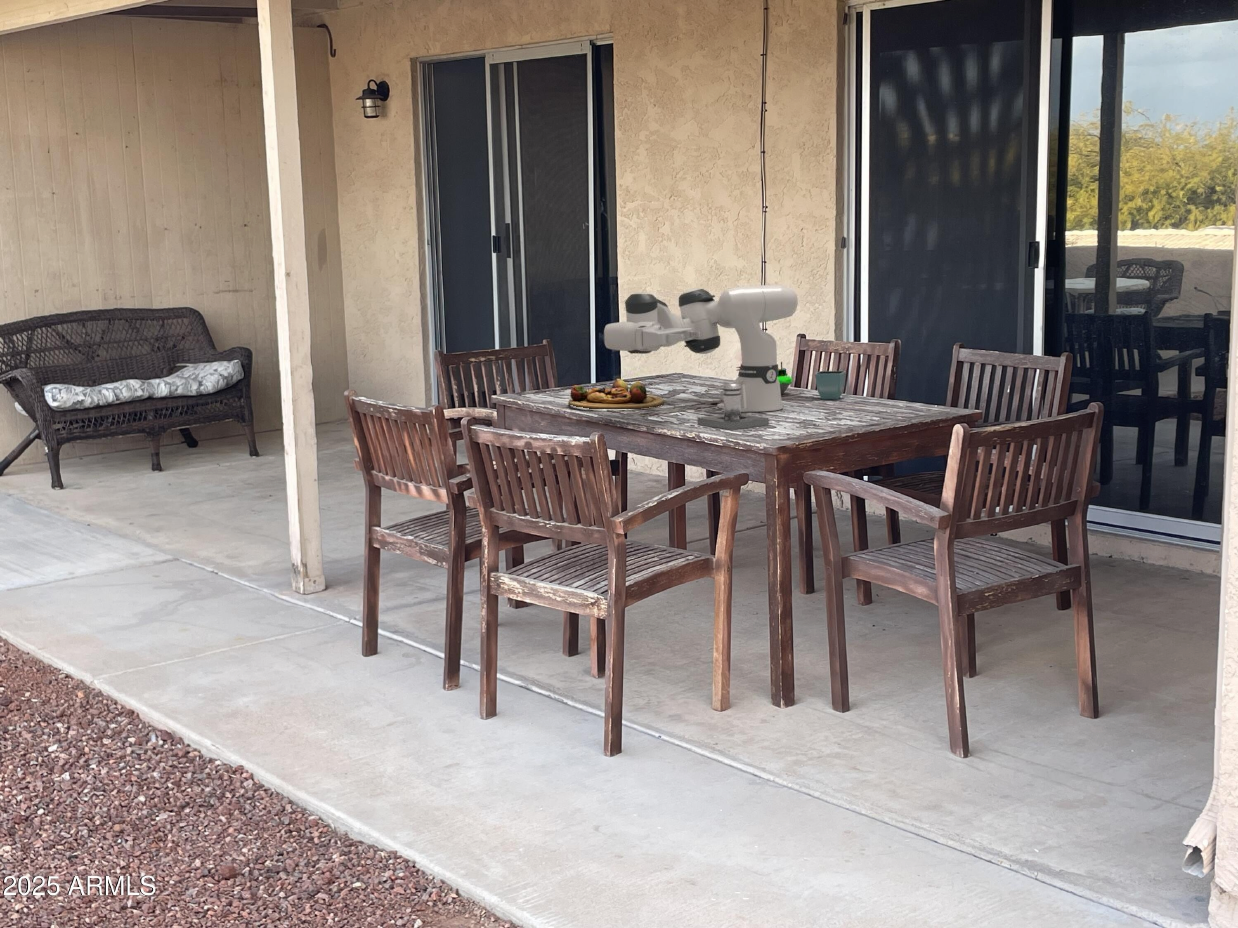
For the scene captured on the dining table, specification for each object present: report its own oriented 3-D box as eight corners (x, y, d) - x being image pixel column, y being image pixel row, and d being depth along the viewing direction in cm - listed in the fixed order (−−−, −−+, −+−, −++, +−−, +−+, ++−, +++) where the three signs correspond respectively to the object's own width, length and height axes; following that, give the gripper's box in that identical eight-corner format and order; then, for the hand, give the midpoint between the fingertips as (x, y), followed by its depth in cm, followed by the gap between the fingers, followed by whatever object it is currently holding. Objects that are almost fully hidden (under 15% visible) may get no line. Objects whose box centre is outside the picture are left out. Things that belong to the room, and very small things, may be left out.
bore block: (697, 424, 409) (697, 417, 409) (734, 419, 417) (734, 413, 416) (731, 430, 396) (731, 423, 396) (768, 424, 404) (768, 418, 403)
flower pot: (820, 397, 462) (819, 370, 461) (846, 397, 459) (846, 370, 458) (814, 400, 454) (814, 373, 452) (841, 400, 451) (841, 373, 450)
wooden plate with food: (557, 412, 449) (556, 387, 447) (582, 399, 479) (581, 375, 478) (653, 414, 441) (652, 389, 440) (672, 400, 472) (672, 376, 470)
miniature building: (773, 392, 482) (772, 360, 481) (798, 393, 474) (798, 361, 472) (749, 395, 474) (749, 363, 473) (775, 397, 466) (774, 364, 464)
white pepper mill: (720, 424, 407) (719, 384, 405) (733, 422, 410) (733, 382, 408) (731, 426, 403) (730, 385, 401) (745, 424, 406) (744, 384, 404)
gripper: (668, 343, 424) (708, 344, 417) (634, 349, 407) (675, 350, 400) (667, 323, 423) (707, 323, 416) (633, 328, 406) (674, 328, 399)
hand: (691, 336), depth 408 cm, fingers open, 8 cm apart
